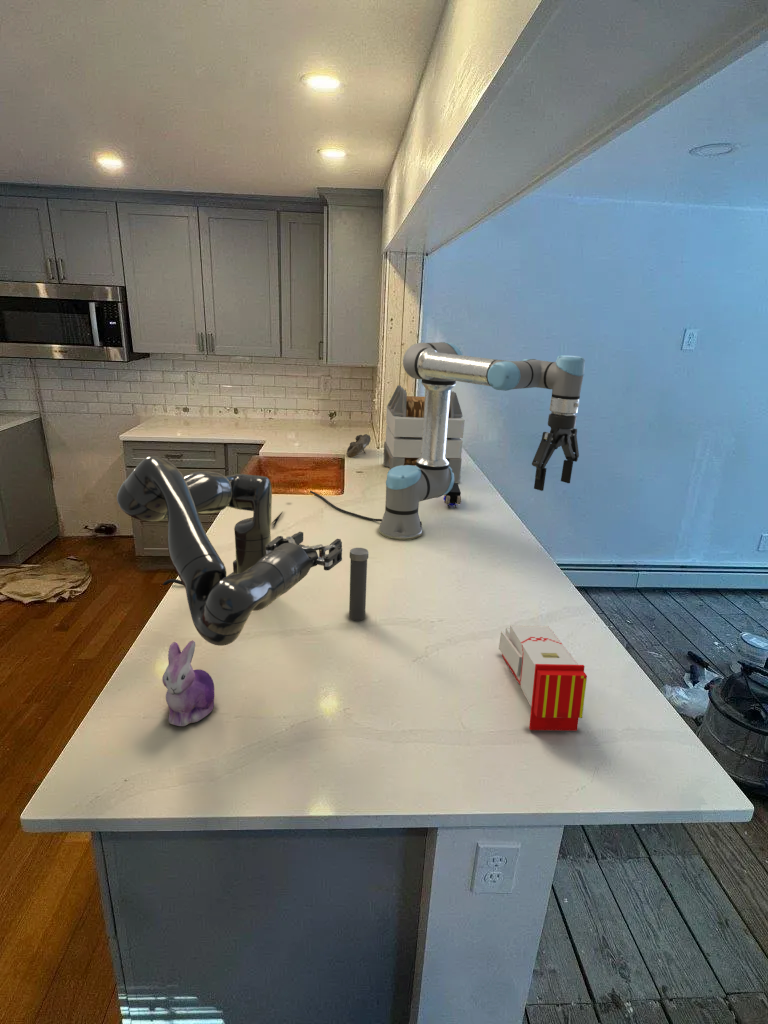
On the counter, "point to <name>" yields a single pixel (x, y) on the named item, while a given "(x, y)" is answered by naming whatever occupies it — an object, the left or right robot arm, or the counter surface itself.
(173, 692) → the figurine
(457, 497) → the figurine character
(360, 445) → the fossil
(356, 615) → the dark gray cylinder
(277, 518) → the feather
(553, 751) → the counter surface
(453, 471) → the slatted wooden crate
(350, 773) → the counter surface
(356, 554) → the lid
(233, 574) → the left robot arm
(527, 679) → the toy
